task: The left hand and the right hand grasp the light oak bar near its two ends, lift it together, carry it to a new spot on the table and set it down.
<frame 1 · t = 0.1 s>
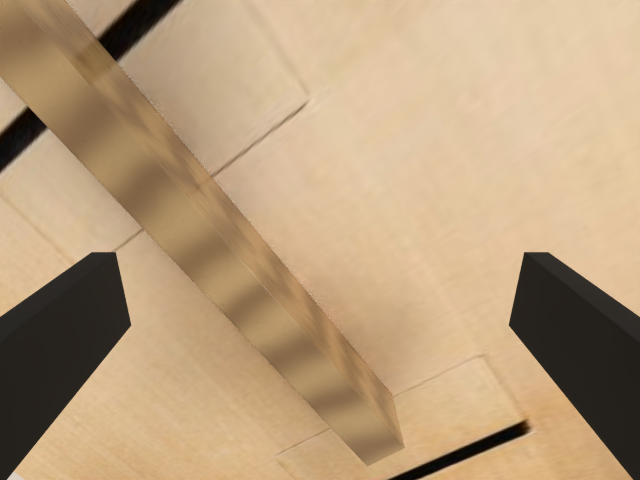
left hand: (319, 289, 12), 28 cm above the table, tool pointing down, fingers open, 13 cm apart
bar: (223, 225, 41), on the table
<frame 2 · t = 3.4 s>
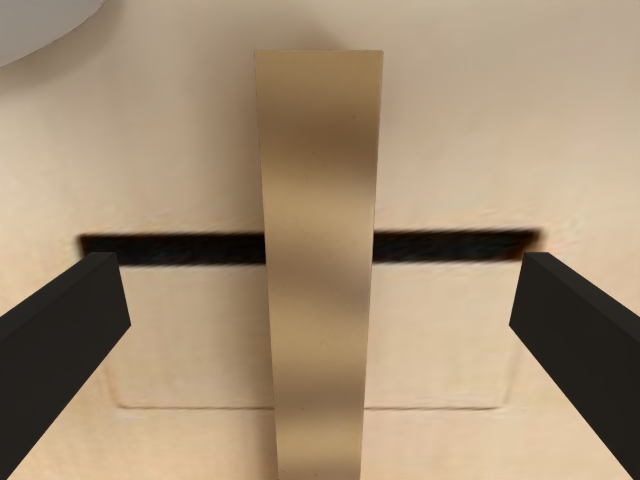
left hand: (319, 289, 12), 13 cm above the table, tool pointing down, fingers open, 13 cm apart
bar: (319, 450, 33), on the table, touching right hand
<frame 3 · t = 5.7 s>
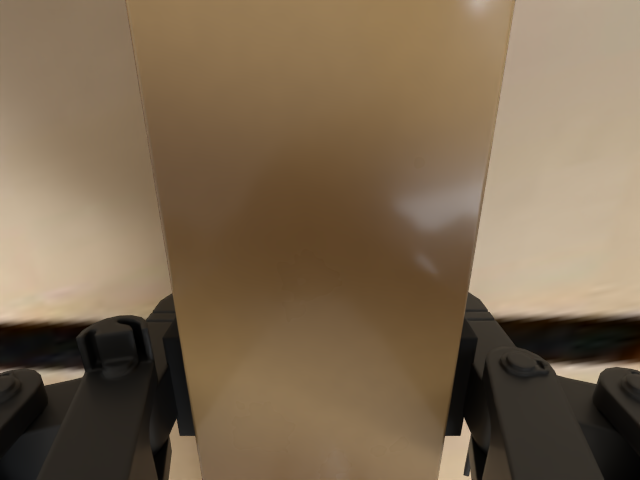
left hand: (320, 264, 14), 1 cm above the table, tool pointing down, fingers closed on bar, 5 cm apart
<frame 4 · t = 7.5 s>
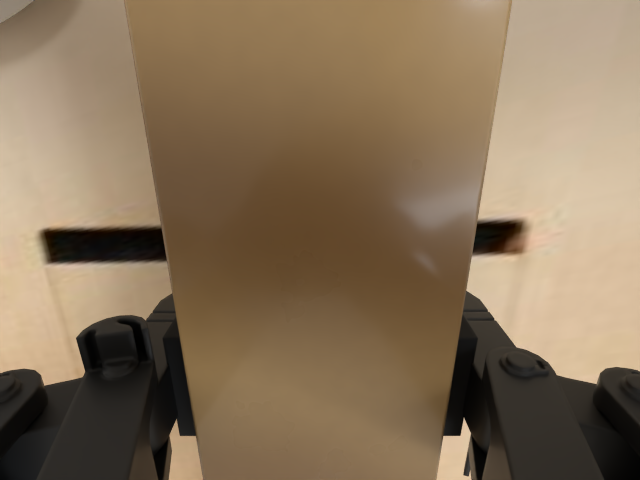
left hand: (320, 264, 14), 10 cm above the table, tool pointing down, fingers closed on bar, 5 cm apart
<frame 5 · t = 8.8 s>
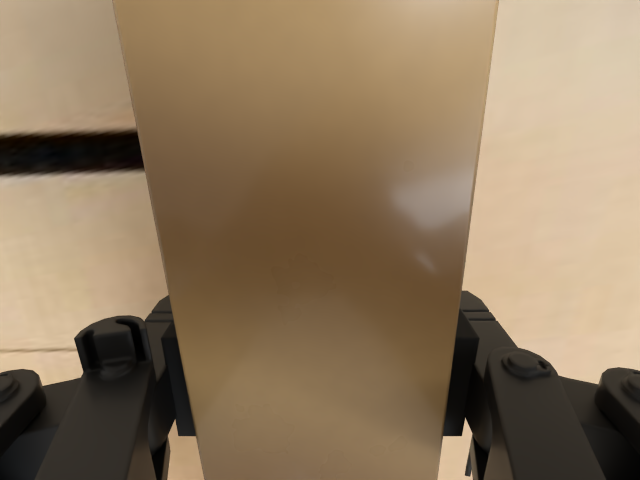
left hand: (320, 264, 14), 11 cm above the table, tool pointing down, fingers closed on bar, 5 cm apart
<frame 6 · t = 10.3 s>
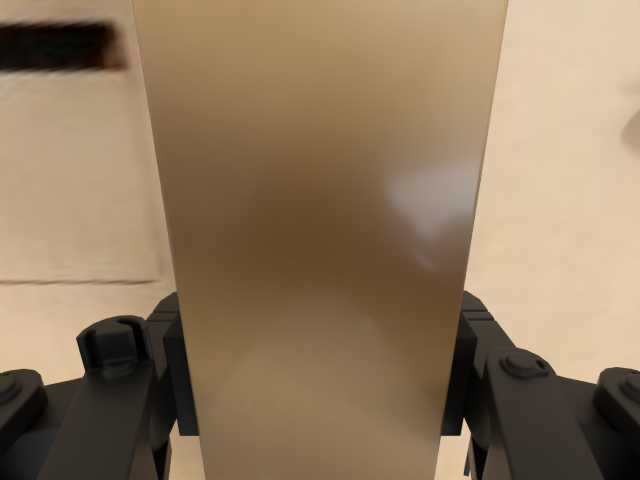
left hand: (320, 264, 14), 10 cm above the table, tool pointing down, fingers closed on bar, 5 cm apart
when the left hand's fingers open (2 cm above the table, at t = 11.9 s): bar stays where it is, on the table.
when the right hand's fingers open (4 cm above the table, at t = 11.9 s): bar stays where it is, on the table.
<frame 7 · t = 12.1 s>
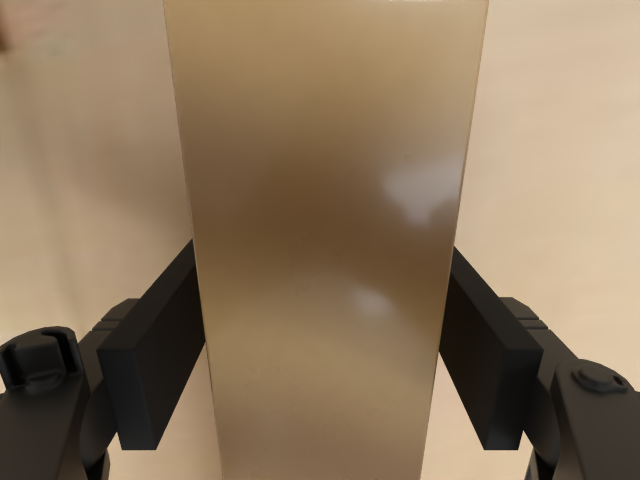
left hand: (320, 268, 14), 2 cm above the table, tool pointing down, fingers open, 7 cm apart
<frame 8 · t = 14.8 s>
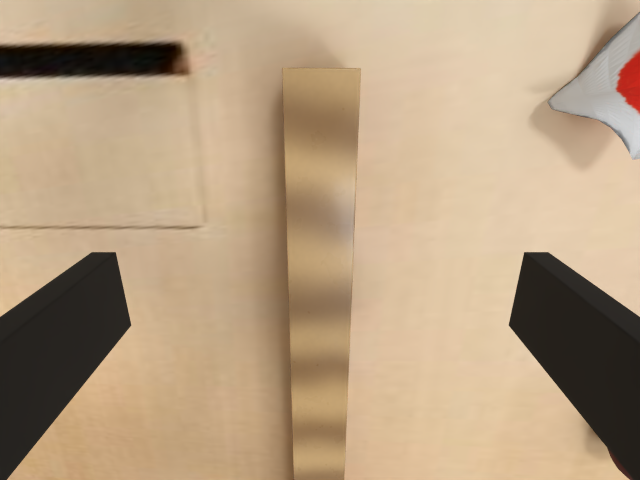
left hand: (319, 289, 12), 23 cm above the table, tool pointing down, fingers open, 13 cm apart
bar: (319, 372, 43), on the table
fish: (630, 86, 32), on the table
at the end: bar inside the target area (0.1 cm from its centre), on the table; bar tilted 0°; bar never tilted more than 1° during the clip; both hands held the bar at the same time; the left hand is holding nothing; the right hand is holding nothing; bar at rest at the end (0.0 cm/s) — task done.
